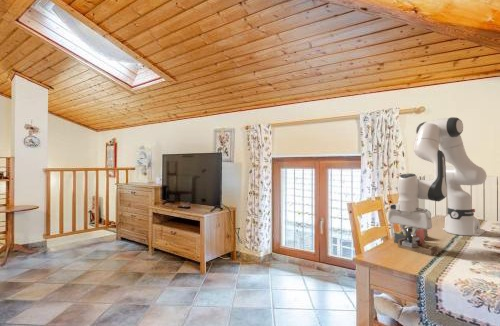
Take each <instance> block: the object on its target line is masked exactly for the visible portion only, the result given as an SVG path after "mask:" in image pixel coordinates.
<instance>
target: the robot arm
mask: <svg viewBox="0 0 500 326" xmlns="http://www.w3.org/2000/svg"><path fill="white" fill-rule="evenodd" d="M463 131H464V123H463V120H461V119H460V118H458V117H453V116H452V117H448V118H446V117H445V118H437V119H433V120H430V121H424V122H421V123H419V124H418V125H417V126H416V130H415V132H416V136H415V139H414V140H415V141H414V144H413V152H414V154H415V155H416V156H417V157H418V158H420V159H421V160H423V161H426V162H430V163H432V164H433V179H431V180H430V179H419V178H418V176H417V174H415V173H403V174H401V175H399V176H398V182H397V193H398V199H397V202H395V203H392V204H389V205H388V212H387V222H389V223H391V224H394V225H395V224H396V225H400V228H401V231H403V234H406V229H405V228H406V227H407V226H411V227H413V229H414V230H413V232H411V236H416V232H417V230H418V228H421V229H427V230H431V229H432V227H433V222H432V213H431V211H430V210H429V209H427V208H421V207H420V203H419V202H420V201H419V200H427V201H428V200H429V201H433V202H441V201H443V200H444V199H445V198H447V205H448V206H447V210H446V211H447V215H446V216H445V218H444V227H442V230H443V231H445V232H446V233H448V234H452V235H460V236H475V237H481V236H482V235H483V234H484V233H486V229H482V228H481V222H480V220H479V219H477V217H476V216H475V214H474V213H476V209H475V208H473V204H472V200H473V199H472V196H471V194H470V193H469V192H467V191H465V190H464V189H463V188H462V186H477V185H478V186H479V185H482V184H484V183H485V181H486V180H487V172H486V170H485V169H484V168H483V167H481V166H479V165H477V164H476V163H474V162H473V161H472V160H471V159H470V158H469V156H468V155H467V152H466V149H465V146H464V142H463V139H462V135H461V134H462V133H463ZM446 163H449V164H451V165H446Z"/></svg>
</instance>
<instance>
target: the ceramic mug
mask: <svg viewBox="0 0 500 326" xmlns="http://www.w3.org/2000/svg"><path fill="white" fill-rule="evenodd" d="M407 227H411V226H406V228H407ZM420 229H421V228H420ZM412 230H414V229H412ZM428 236H429V234H428V229H424V239H425V238H427V237H428Z"/></svg>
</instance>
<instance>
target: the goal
mask: <svg viewBox="0 0 500 326" xmlns="http://www.w3.org/2000/svg"><path fill="white" fill-rule="evenodd" d="M406 228H412V229H413V227H407V226H406V227H405V229H406ZM418 229H420V228H418ZM403 238H405V239H406V234H405V235H404V234H403V230H400V231H397V232H394V233H393V243H394V244H398V240H399V239H403Z"/></svg>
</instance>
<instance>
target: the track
mask: <svg viewBox="0 0 500 326" xmlns="http://www.w3.org/2000/svg"><path fill="white" fill-rule="evenodd" d="M405 240H406V239H405V238H403V239H399V240H398V243H397V247H398V248H400V249H405V250H408V251H411V252H414V253H415V252H416V253H420V254H422V255H426V256H430V257H432V256H436V255H438V246H437V245H432V246H431V245H430V246H429V247H428V248H426V247H421V246H418V245H417V247H413V248H411V247H407V246H403V245H402V241H405Z"/></svg>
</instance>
